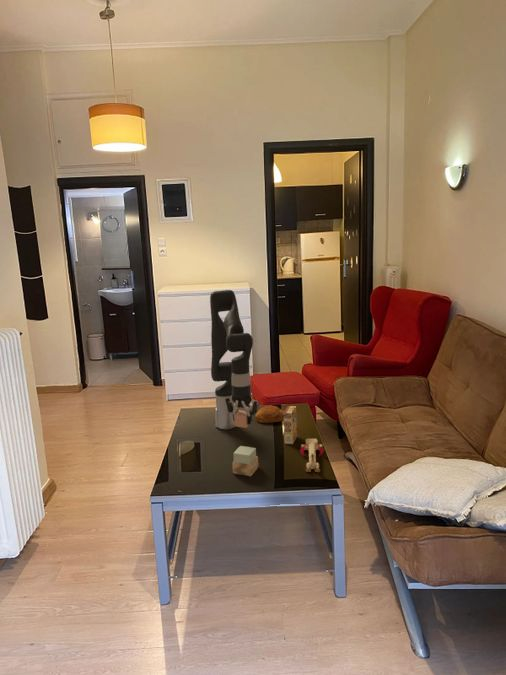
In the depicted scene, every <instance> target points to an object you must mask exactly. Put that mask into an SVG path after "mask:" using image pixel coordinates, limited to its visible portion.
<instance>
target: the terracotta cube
mask: <svg viewBox="0 0 506 675" xmlns="http://www.w3.org/2000/svg"><path fill="white" fill-rule="evenodd" d="M247 416H248V415H247V413H246V411H245V410H243V409H242V410H241V409H238V412H237V413H235V414H234V423H235V427H239V428H245V429H247V428H248V426H249V425H248V424H247Z"/></svg>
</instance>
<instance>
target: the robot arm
mask: <svg viewBox="0 0 506 675" xmlns="http://www.w3.org/2000/svg"><path fill="white" fill-rule="evenodd" d="M209 303H210V304H209V305H210V306H209V307H210V316H211V317H210V318H211V333H210V334H211V335H210V336H211V337H210V338H211V340H210V341H211V342H210V343H211V365H210V366H211V367H210V375H211V379H212V381H214V382H216V383H217V382H224V383H222V384H221V385H218V386H217V387H216V388H215V390H214V391H215V392H214V394H215V408H214V421H215V422H214V425H215V428H218V429H219V430H231V429H234V428H235V427H236V426H235V423H234V414H235V413H237V412H238V411H239V410H240V408H241V409H244V411H246V413H247V415H248V416H247V424H248V426H250V425H251V424H252V422H253V416H255V415H256V414H257V412H258V407H259V401H260V400H258V399H253V397H252V384H251V383H252V380H251V373H250V357H251V354H252V349H253V344H254V339H253V336H252V335H251V333H249V332H244V331H245V330H244V326H243V324H242V322H241V318H240V313H239V307H238V301H237V297H236V294H235V292H234V290H231V289H225V290H224V289H223V290H213V291H212V292H210V295H209ZM221 312H228V313H227V314H226V315H225V317H224V319H222V318H221V316H220V315H219V313H221ZM227 352H230V353H239V352H240V354H239V355H238V356H235V357H232V359H231V360H230V361H221V359H222V358H223V357H224V356H225V354H226V353H227ZM241 352H242V353H241ZM251 405H252V406H251Z"/></svg>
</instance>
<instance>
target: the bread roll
mask: <svg viewBox="0 0 506 675" xmlns="http://www.w3.org/2000/svg"><path fill="white" fill-rule="evenodd" d="M284 411H285V410H282V409H280V408H279V407H278V406H275V405H267V406H262V407H261V408H259V410H257V412H256V413H255V414H254V419H255V420H256V421H257V423H261V424H263V423H267V424H268V423H271V424H272V423H278V422H282V421H284V414H283V413H284Z"/></svg>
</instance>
